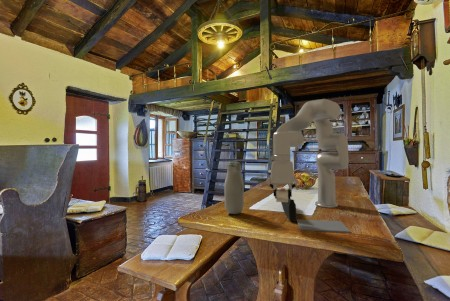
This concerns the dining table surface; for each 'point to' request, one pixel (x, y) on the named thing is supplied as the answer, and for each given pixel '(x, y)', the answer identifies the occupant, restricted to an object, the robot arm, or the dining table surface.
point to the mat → (322, 226)
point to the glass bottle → (234, 188)
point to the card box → (282, 195)
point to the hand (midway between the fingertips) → (282, 197)
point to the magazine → (290, 209)
